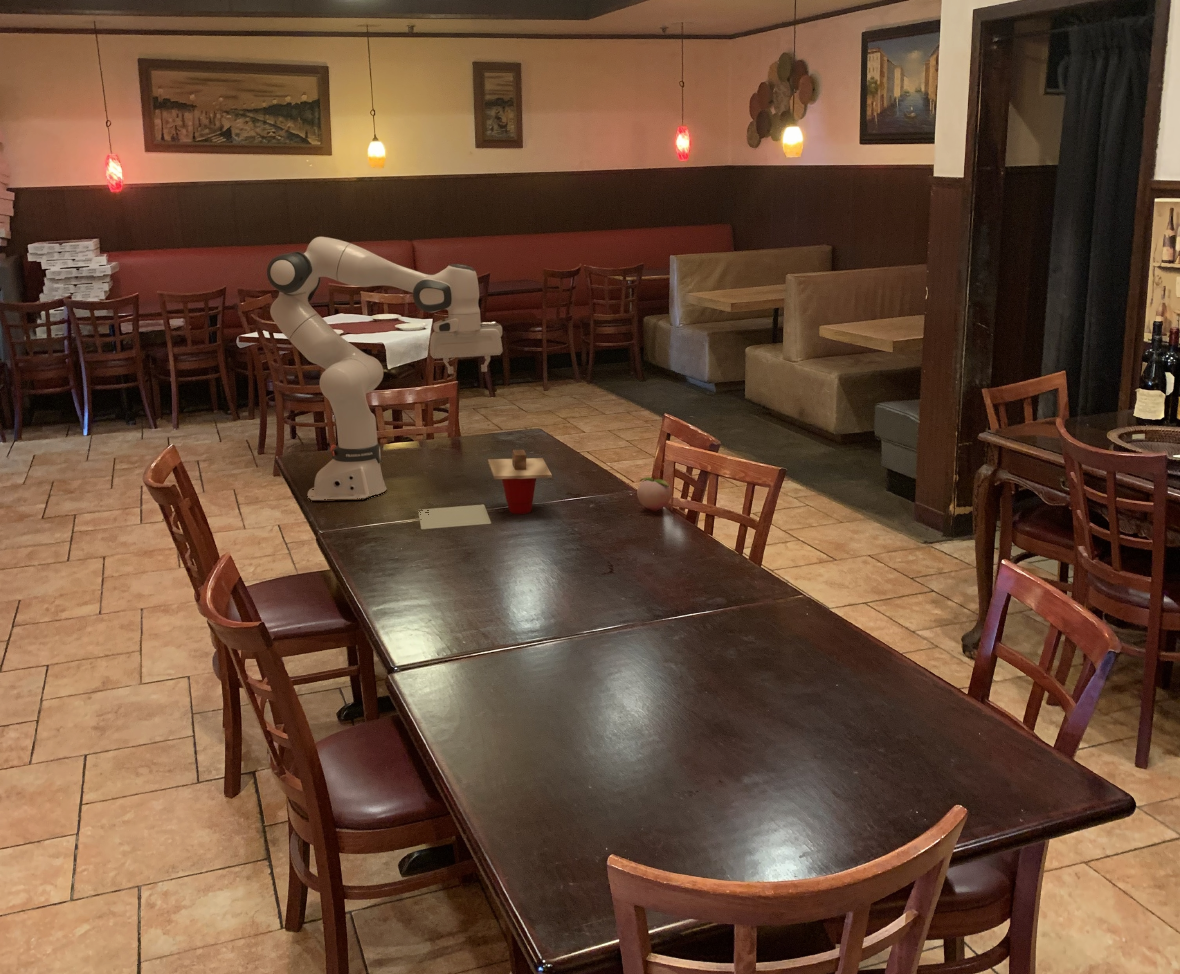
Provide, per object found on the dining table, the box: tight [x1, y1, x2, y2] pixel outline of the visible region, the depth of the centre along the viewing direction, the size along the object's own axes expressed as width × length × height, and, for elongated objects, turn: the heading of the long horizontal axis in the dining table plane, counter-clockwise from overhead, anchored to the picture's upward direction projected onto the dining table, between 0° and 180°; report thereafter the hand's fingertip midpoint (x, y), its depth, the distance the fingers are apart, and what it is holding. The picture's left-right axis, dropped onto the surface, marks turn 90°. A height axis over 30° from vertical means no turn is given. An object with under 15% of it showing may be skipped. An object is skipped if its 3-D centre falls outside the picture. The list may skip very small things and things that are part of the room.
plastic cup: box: [501, 478, 538, 515], centre depth 296 cm, size 11×11×12 cm
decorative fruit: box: [636, 474, 673, 512], centre depth 294 cm, size 9×8×10 cm
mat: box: [418, 504, 492, 530], centre depth 294 cm, size 18×18×1 cm
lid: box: [487, 449, 553, 480], centre depth 293 cm, size 15×15×5 cm
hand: (467, 372), depth 313 cm, fingers open, 8 cm apart
